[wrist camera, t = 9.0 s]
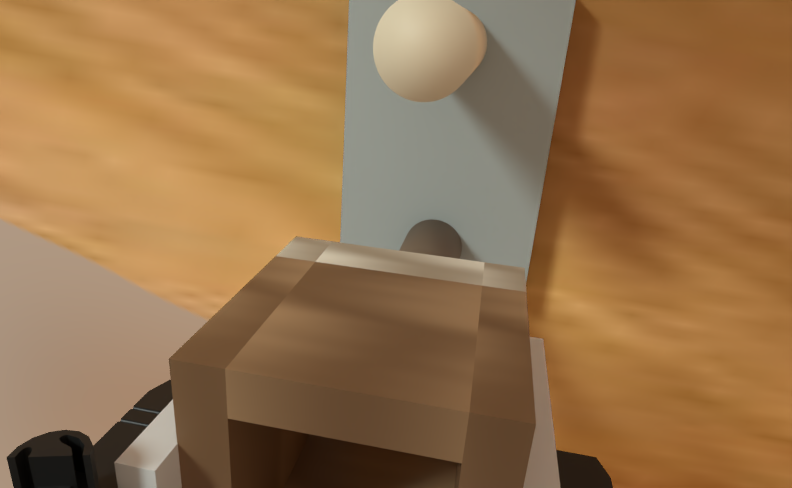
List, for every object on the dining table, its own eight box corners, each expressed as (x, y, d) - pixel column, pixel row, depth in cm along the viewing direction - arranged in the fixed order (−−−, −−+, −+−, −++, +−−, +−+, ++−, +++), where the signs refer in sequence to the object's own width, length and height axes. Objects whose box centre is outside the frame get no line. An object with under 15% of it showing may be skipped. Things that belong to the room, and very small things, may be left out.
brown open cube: (295, 418, 17) (192, 605, 11) (296, 236, 15) (169, 358, 9) (492, 455, 16) (484, 678, 10) (524, 267, 14) (536, 424, 8)
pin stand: (346, 265, 25) (266, 381, 17) (358, -21, 21) (258, -58, 13) (521, 291, 24) (529, 428, 16) (573, -7, 20) (623, -38, 11)
